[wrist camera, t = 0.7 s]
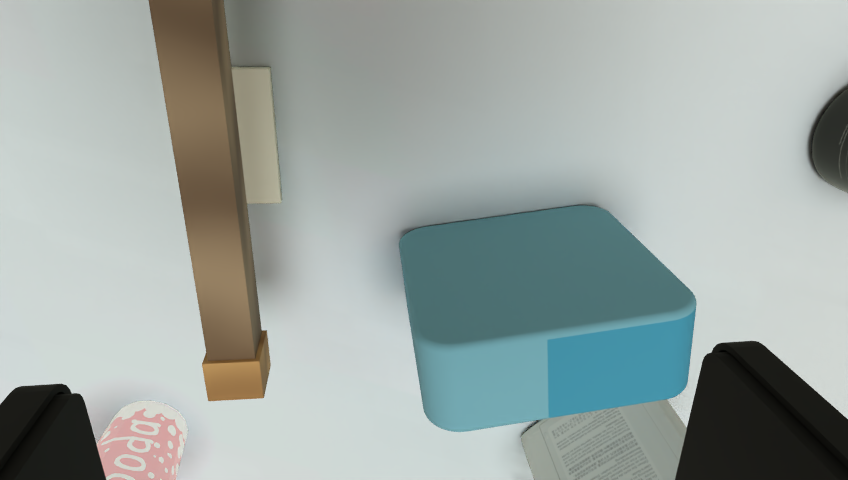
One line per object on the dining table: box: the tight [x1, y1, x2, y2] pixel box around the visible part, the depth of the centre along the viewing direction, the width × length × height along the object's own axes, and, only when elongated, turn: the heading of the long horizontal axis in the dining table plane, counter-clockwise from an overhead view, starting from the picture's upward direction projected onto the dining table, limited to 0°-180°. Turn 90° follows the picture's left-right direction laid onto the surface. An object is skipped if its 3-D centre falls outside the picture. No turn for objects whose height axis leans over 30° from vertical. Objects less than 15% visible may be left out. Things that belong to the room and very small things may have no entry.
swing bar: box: [149, 0, 270, 401], centre depth 23 cm, size 21×4×2 cm, turn 179°
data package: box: [399, 206, 696, 432], centre depth 30 cm, size 12×4×12 cm, turn 96°
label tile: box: [231, 67, 282, 204], centre depth 30 cm, size 7×5×1 cm
